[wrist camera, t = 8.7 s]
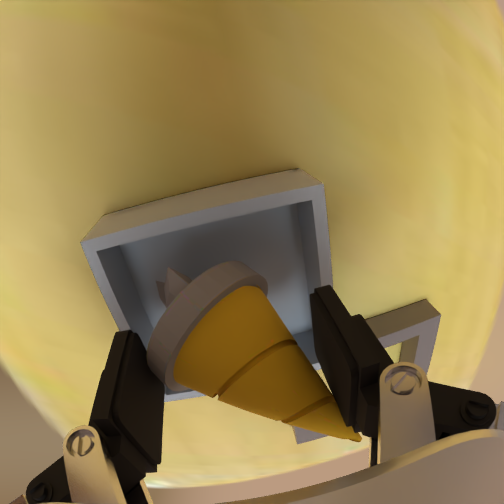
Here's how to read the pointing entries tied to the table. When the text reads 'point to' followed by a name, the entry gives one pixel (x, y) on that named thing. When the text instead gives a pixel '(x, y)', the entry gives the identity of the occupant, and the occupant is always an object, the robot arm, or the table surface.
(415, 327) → the holder panel
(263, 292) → the grooved yellow cone
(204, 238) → the parts tray
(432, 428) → the robot arm
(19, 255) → the table surface
